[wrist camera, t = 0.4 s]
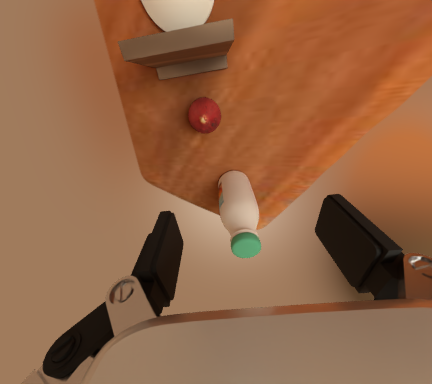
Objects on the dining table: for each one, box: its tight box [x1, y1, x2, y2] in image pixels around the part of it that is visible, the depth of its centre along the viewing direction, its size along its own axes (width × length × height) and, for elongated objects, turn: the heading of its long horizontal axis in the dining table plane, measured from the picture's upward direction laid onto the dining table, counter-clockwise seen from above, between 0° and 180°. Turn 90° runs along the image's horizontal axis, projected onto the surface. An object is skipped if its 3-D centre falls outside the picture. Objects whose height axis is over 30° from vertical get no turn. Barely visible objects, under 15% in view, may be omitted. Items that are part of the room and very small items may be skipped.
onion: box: [188, 97, 221, 133], centre depth 30 cm, size 6×6×8 cm
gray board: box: [118, 18, 234, 80], centre depth 23 cm, size 5×12×13 cm, turn 98°
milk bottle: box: [218, 171, 261, 258], centre depth 34 cm, size 8×8×20 cm
